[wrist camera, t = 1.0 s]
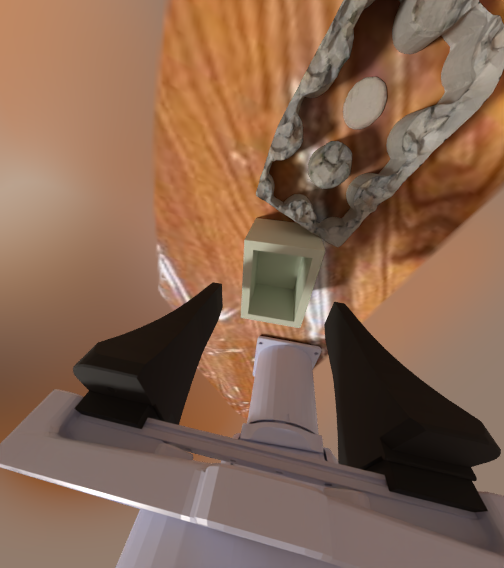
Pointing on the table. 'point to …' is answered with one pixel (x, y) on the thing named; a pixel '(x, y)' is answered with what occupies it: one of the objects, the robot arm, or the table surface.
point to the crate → (279, 271)
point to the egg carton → (371, 100)
